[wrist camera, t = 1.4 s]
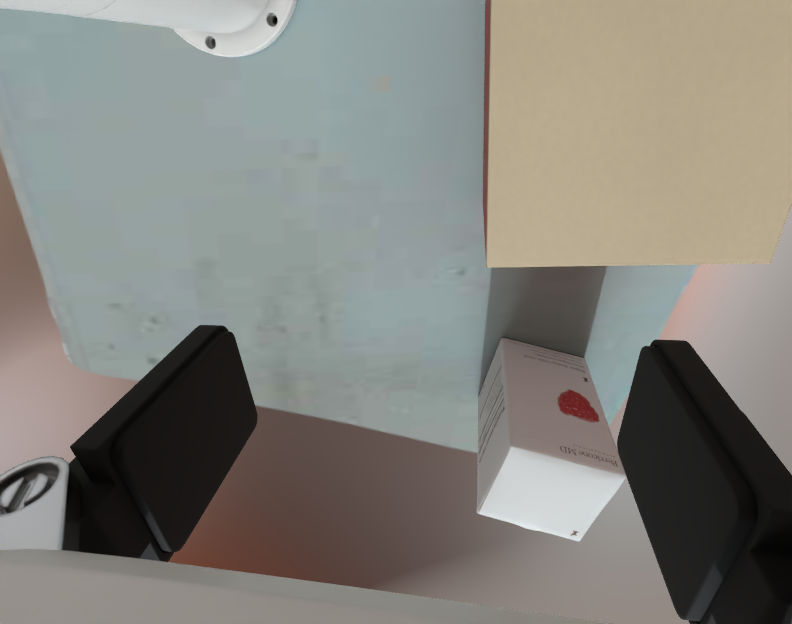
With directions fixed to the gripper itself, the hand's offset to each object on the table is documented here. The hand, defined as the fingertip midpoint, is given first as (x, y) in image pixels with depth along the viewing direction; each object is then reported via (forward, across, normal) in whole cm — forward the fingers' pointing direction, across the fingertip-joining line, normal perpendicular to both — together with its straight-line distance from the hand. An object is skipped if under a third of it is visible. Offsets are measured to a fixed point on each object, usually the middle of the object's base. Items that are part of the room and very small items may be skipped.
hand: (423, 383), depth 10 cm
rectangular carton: (+31, -7, +23) cm, 39 cm away
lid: (+17, -9, -5) cm, 20 cm away
